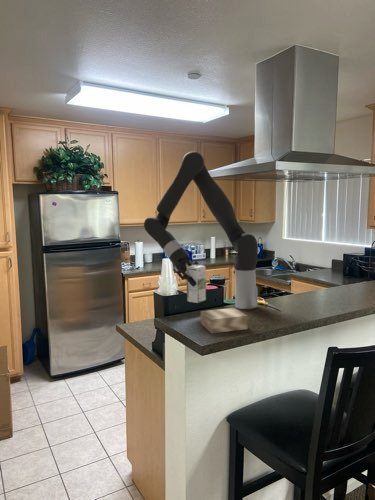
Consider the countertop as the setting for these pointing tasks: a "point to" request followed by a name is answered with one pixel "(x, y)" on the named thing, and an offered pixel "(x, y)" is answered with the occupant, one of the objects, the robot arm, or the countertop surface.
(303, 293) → the countertop surface
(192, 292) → the syrup box
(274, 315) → the countertop surface
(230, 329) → the riser block
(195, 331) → the countertop surface
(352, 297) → the countertop surface
